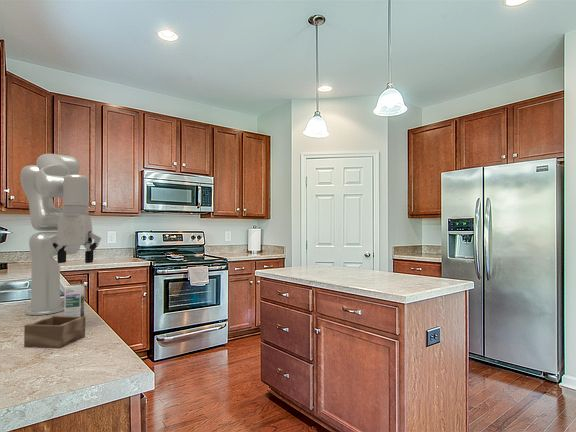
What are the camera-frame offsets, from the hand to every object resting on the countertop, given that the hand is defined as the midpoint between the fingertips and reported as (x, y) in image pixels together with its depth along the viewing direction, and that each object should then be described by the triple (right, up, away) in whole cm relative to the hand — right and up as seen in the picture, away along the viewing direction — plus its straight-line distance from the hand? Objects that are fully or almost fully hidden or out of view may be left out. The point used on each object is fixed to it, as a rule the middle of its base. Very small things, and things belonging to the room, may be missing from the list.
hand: (75, 262), depth 123 cm
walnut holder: (+2, -22, -14) cm, 26 cm away
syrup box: (0, -22, 0) cm, 22 cm away
